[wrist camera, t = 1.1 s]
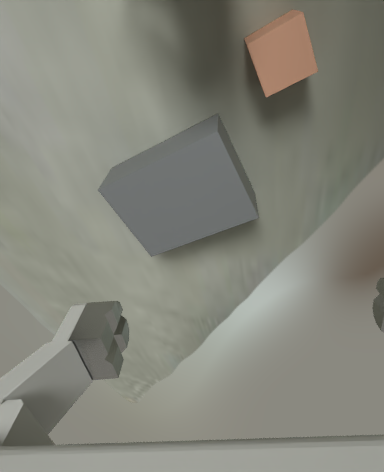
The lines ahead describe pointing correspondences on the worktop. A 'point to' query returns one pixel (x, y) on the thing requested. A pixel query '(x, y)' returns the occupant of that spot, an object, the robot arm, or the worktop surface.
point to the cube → (282, 52)
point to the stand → (182, 188)
